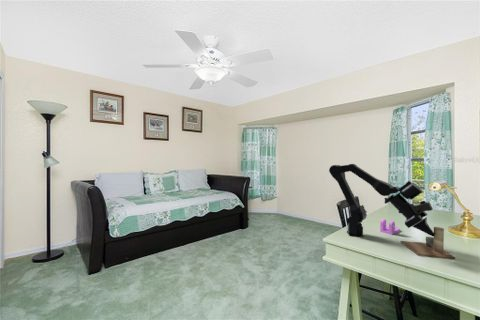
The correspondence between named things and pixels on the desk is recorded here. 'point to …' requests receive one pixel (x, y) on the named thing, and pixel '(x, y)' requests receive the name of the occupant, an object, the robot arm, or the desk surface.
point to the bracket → (390, 229)
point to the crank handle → (436, 240)
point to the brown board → (425, 250)
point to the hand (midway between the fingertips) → (434, 235)
